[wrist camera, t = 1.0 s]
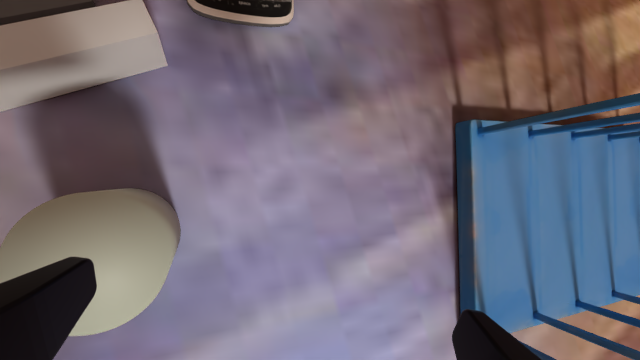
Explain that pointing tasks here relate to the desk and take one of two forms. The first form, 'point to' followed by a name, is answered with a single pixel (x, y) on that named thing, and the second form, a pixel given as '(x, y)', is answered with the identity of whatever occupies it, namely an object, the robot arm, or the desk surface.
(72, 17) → the low wall
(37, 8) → the mat
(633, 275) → the file sorter
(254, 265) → the desk surface
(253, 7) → the cell phone
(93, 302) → the sage cylinder
